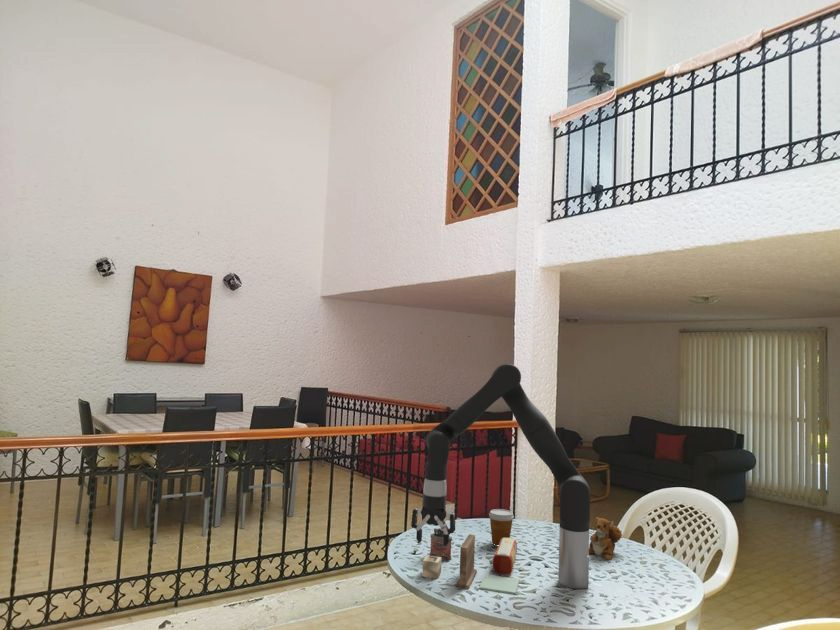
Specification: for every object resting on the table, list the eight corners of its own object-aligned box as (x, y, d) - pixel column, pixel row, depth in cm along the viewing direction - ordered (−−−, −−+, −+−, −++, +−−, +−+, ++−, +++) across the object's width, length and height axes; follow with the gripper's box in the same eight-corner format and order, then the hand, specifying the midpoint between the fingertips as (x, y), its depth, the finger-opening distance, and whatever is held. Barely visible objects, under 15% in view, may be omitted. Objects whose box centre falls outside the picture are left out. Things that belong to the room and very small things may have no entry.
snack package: (499, 553, 204) (500, 534, 205) (518, 555, 202) (518, 536, 203) (491, 574, 184) (492, 553, 184) (512, 577, 182) (512, 555, 183)
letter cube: (441, 573, 182) (441, 557, 183) (437, 578, 178) (437, 562, 178) (426, 571, 184) (426, 555, 184) (422, 576, 179) (422, 560, 179)
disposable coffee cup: (483, 541, 216) (484, 509, 217) (504, 539, 220) (505, 507, 221) (496, 549, 207) (497, 516, 208) (518, 547, 211) (519, 514, 212)
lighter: (427, 556, 197) (429, 527, 198) (432, 554, 200) (433, 525, 201) (448, 561, 193) (449, 531, 194) (452, 558, 196) (453, 529, 197)
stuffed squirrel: (581, 553, 207) (582, 517, 208) (601, 546, 216) (602, 511, 217) (606, 561, 200) (606, 523, 201) (626, 553, 209) (626, 517, 210)
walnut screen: (476, 572, 184) (478, 535, 185) (468, 589, 170) (470, 548, 171) (464, 571, 185) (466, 533, 186) (455, 587, 171) (457, 546, 172)
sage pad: (519, 580, 179) (519, 579, 179) (515, 594, 168) (515, 592, 168) (485, 575, 182) (485, 574, 182) (479, 588, 171) (479, 587, 171)
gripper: (458, 492, 185) (456, 543, 183) (417, 487, 189) (414, 537, 187) (453, 498, 177) (451, 550, 176) (410, 492, 181) (407, 544, 180)
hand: (432, 543), depth 182 cm, fingers open, 8 cm apart
